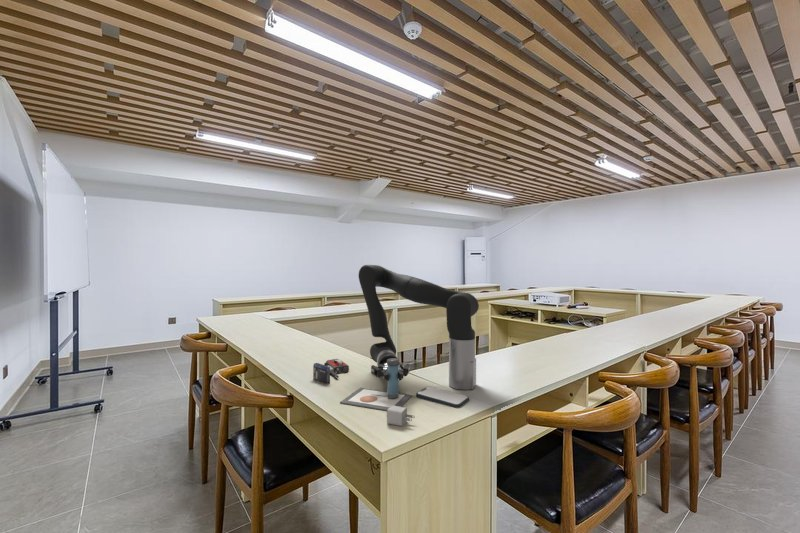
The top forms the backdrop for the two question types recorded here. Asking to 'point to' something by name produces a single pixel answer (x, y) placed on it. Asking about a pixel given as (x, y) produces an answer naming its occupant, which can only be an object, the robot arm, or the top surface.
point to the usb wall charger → (398, 415)
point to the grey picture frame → (374, 399)
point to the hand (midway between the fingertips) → (394, 377)
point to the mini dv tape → (321, 373)
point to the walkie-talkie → (337, 366)
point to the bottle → (393, 378)
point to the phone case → (442, 397)
